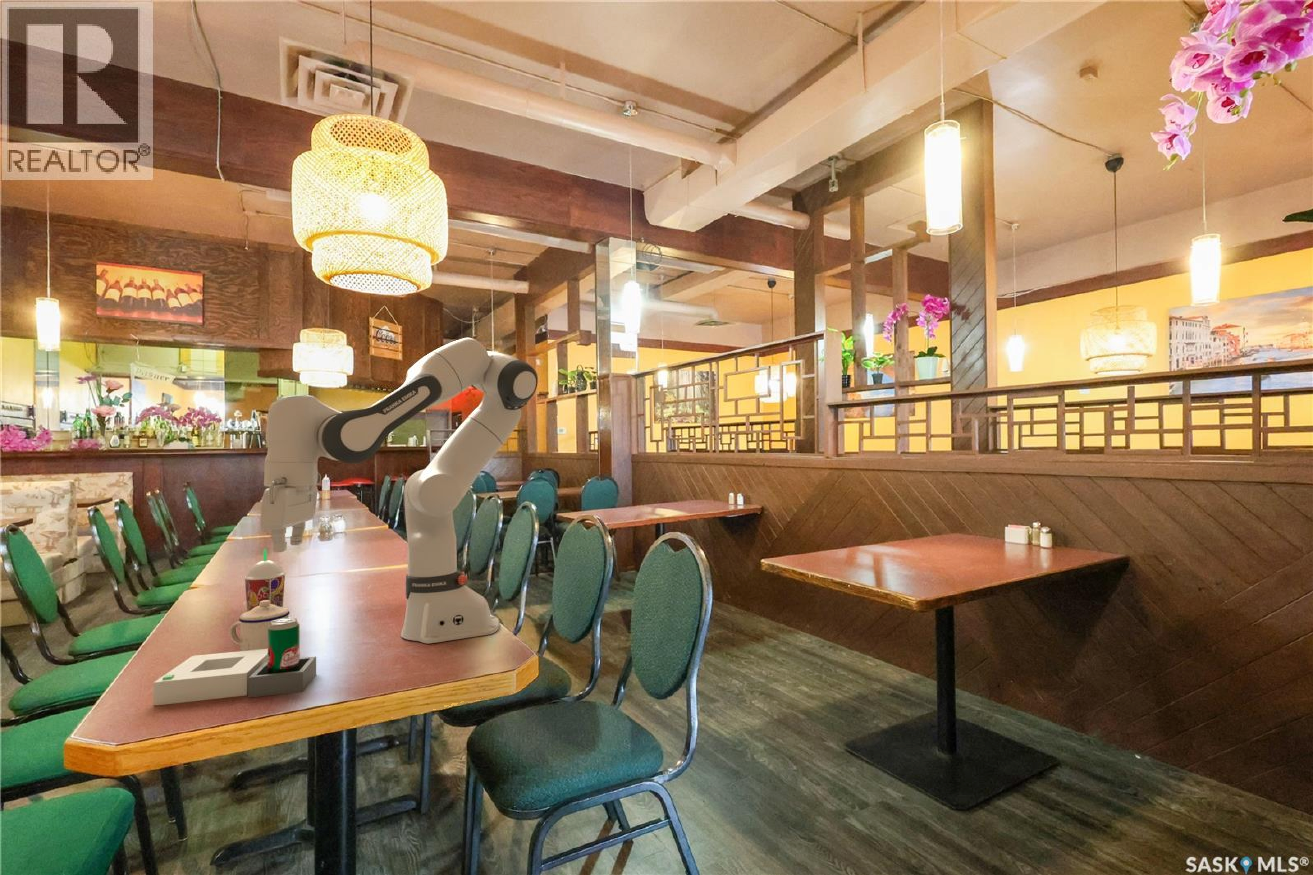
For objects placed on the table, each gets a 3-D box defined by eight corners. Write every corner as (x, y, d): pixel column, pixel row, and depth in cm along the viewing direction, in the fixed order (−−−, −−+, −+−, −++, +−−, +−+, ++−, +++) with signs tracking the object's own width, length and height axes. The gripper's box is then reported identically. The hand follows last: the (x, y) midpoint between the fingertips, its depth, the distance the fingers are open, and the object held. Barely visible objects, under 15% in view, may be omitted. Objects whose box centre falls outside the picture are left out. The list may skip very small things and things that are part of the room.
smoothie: (291, 628, 147) (291, 547, 147) (254, 638, 140) (254, 553, 140) (275, 624, 151) (274, 545, 152) (238, 632, 144) (238, 550, 145)
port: (273, 668, 120) (273, 646, 120) (246, 695, 106) (246, 670, 106) (192, 676, 116) (192, 653, 116) (153, 705, 102) (153, 680, 103)
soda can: (284, 691, 108) (284, 625, 108) (260, 690, 109) (260, 624, 109) (306, 681, 113) (305, 617, 113) (283, 679, 114) (283, 616, 114)
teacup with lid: (298, 648, 132) (298, 595, 132) (271, 662, 123) (271, 606, 123) (246, 648, 132) (246, 596, 133) (214, 663, 123) (214, 606, 124)
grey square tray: (316, 674, 116) (316, 656, 116) (302, 691, 108) (302, 672, 108) (265, 679, 114) (265, 661, 114) (248, 697, 105) (248, 677, 105)
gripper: (291, 478, 107) (288, 556, 106) (323, 475, 127) (320, 541, 126) (251, 478, 105) (248, 557, 105) (290, 475, 125) (287, 541, 124)
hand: (288, 548), depth 116 cm, fingers open, 8 cm apart
